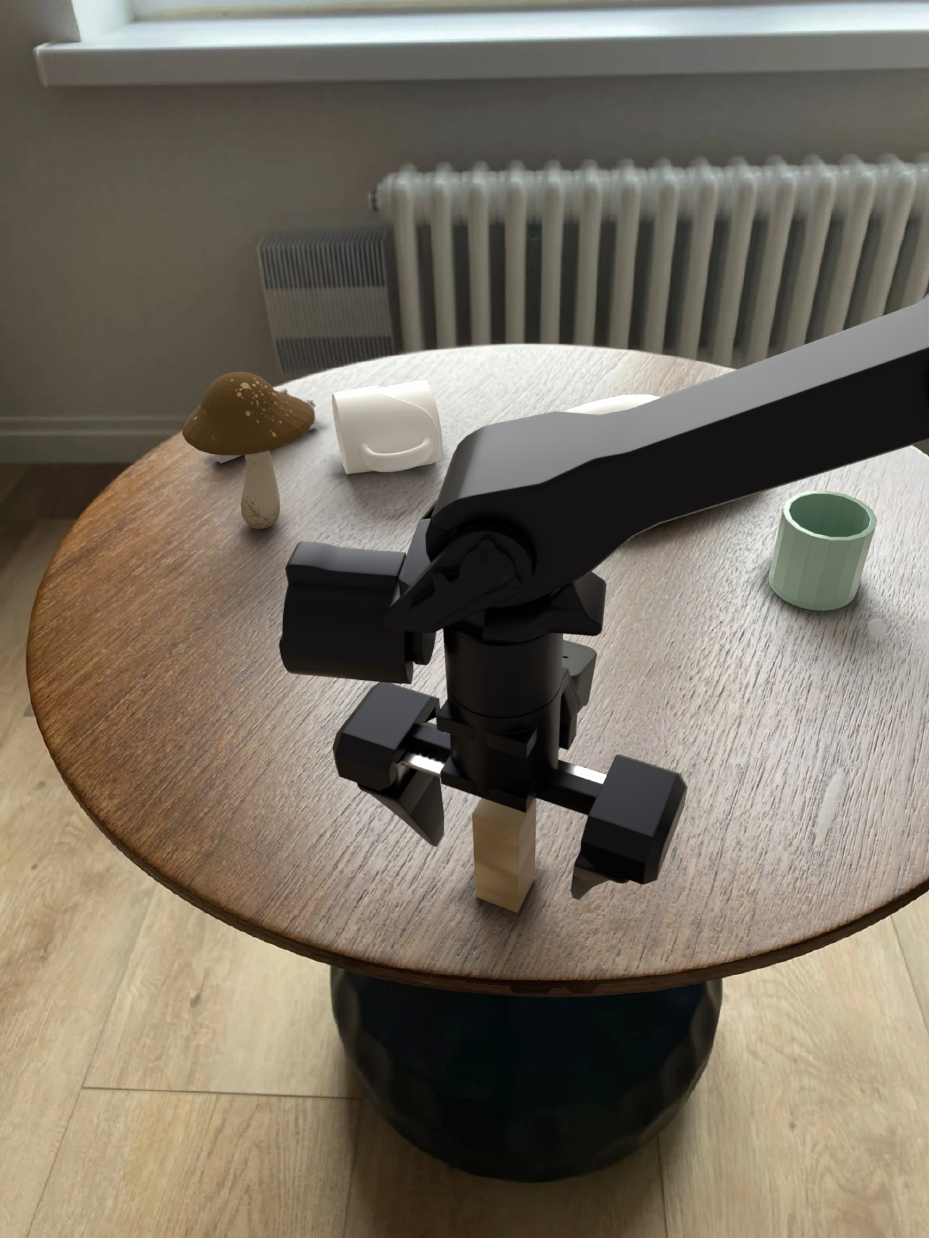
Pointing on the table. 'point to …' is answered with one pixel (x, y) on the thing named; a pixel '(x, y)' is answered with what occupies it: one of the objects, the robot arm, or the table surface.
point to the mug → (387, 427)
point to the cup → (821, 549)
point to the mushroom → (249, 435)
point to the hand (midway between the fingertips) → (506, 865)
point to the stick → (503, 853)
